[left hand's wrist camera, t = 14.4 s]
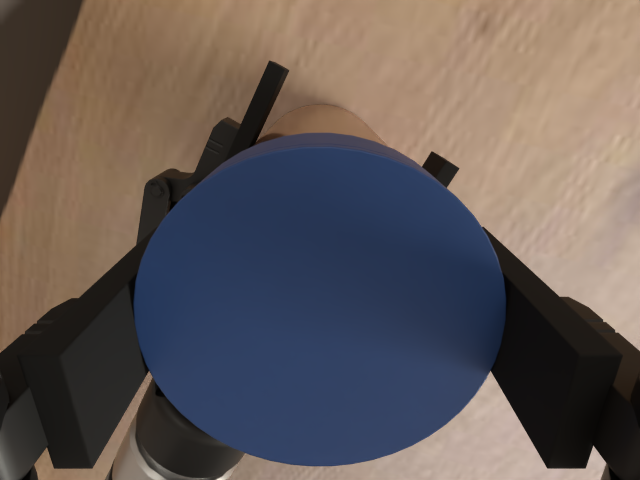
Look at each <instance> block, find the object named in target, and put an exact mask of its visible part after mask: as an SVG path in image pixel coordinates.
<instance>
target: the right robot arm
mask: <svg viewBox="0 0 640 480" xmlns="http://www.w3.org/2000/svg"><path fill="white" fill-rule="evenodd" d="M288 72H289V70H288V69H286V68H284V67H283V66H281V65H279V64H277V63H275V62H272V61H269V63H268V65H267V67H266V69H265V72H264V74H263V76H262V78H261V80H260V83H259V85H258V87H257V89H256V92H255V94H254V96H253V98H252V101H251V103H250V105H249V107H248V110H247V112H246V114H245V116H244V119H243V121H242V123H241V124H240V123H238V122H236V121H234V120H232V119H230V118H228V117H227V118H225V119H223V120H221V121H220V122H219V123H218V124H217V125H216V126H215V127H214V128H213V130H212V132H211V135H210V137H209V140H208V142H207V144H206V147H205V149H204V151H203V154H202V156H201V158H200V161H199V163H198V166H197V168H196V170H195V172H194V173H185V172H180V171H179V170H177V169H168V170H166V171H164V172H162V173H161V174H159V175H157V176H156V177H154V178H152V179H151V180H149V181H148V182H147V183H146V185H145V189H144V196H143V203H142V209H141V216H140V223H139V230H138V237H137V244H138V243H139V242H140V241H141V240H143V239H144V238H145V237H146V236H147V235H148V234H149V233H150V232H151V231H152V230H153V229H155V228H156V227H158V226H159V225H160V223H161V222H162V220H163V219H164V217H165V216H166V215H167V214H168V213H169V212H170V211H171V210H172V208H173V207H174V206H175V205H176V204H177V203H178V202H179V200H181V199H182V198H183V197H184V196H185V195H186V194H187V193H188V192H190V191H191V190H192V189H193V188H194V187H195V186H196V185H198V184H199V183H200V182H201V181H202V180H203V179H204V178H206V177H207V176H208V175H209V174H210V173H211V172H213V171H214V170H215V169H216V168H217V167H219V166H220V165H221V164H222V163H224V162H225V161H227V160H228V159H230V158H232V157H233V156H235V155H236V154H238V153H240V152H241V151H244V150H246V149H248V148H250V147H252V146H253V145H254V144H255V143H256V141H257V139H258V137H259V134H260V132H261V130H262V128H263V126H264V124H265V122H266V119H267V117H268V115H269V113H270V111H271V109H272V107H273V104H274V102H275V100H276V98H277V96H278V94H279V92H280V89H281V87H282V85H283V83H284V81H285V79H286V77H287V74H288ZM422 168H424V169H425V170H426V171H427V172H429V173H430V174H431V175H432V176H433V177H434V178H436V179H437V180H438V181H439V182H440V183H441V184H442V185H444V186H445V187H446V188H447V186H448V185H449V183H450V182H451V180H452V179H453V177H454V176H455V174H456V173H457V171H458V170H459V168H458V167H456V166H455V165H453V164H452V163H450V162H449V161H447V160H446V159H444V158H443V157H441V156H439V155H437V154H436V153H434V152H431V153H430V155H429V156H428V158H427V160H426V161H425V163H424V164H423V166H422ZM137 244H136V245H137ZM243 455H244V452H242V451H239V450H237V449H234V448H232V447H230V446H228V445H226V444H224V443H222V442H220V441H218V440H217V439H215V438H213V437H211V436H210V435H208V434H207V433H205V432H204V431H203V430H201V429H200V428H198V427H197V426H195V425H194V424H193V423H192V422H191V421H189V420H188V419H187V418H186V417H185V416H184V415H182V414H181V413H180V412H179V411H178V410H177V408H176V407H175V406H174V405H173V404H172V403H171V402H170V401H169V400H168V399H167V397H166V396H165V395H164V393H163V392H162V390H161V389H160V388H159V386H158V385H157V384H156V382H155V380H154V378H152V380H151V382H150V384H149V386H148V389H147V391H146V393H145V395H144V397H143V399H142V401H141V403H140V406H139V408H138V411H137V413H136V415H135V417H134V418H133V420H132V422H131V424H130V426H129V429H128V431H127V433H126V435H125V437H124V439H123V441H122V443H121V445H120V447H119V450H118V452H117V455H116V457H115V459H114V462H113V464H112V467H111V469H110V471H109V473H108V475H107V477H106V479H105V480H228V479H229V477H230V476H231V474H232V472H233V471H234V469H235V468H236V466H237V464H238V462H239V461H240V460H241V458H242V457H243Z"/></svg>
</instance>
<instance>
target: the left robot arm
mask: <svg viewBox="0 0 640 480" xmlns="http://www.w3.org/2000/svg"><path fill="white" fill-rule="evenodd" d="M157 228H158V227H156V228H155V229H153V230H152V231H151V232H150V233H149V234H148V235H147V236H146V237H145V238H144V239H143V240H141V241H140V242H139V243H138V244H137V245H136V246H135V247H134V248H133V249H132V250H131V251H129V252H128V253H127V254H126V255H125V256H124V257H123V258H122V259H121V260H120V261H119V262H118V263H116V264H115V265H114V266H113V267H112V268H111V269H110V270H109V271H108V272H107V273H106V274H104V275H103V276H102V277H101V278H100V279H99V280H98V281H97V282H96V283H95V284H94V285H92V286H91V287H90V288H89V289H88V290H87V291H86V292H85V293H84V294H83V295H82V296H81V297H79V298H71V299H69V300H67V301H66V302H64V303H62V304H60V305H58V306H56V307H54V308H52V309H51V310H50V311H48V312H47V313H46V314H45V315H44V316H43V317H41V318H40V319H39V320H38V321H37V324H33V325H32V326H31V327H30V328H29V329H28V330H26V331H25V334H22V335H21V336H19V337H18V338H17V339H16V340H15V341H14V342H13V343H11V344H10V345H9V346H8V347H7V348H6V349H4V350H3V351H2V352H1V353H0V480H38V477H37V472H36V469H35V466H34V464H35V462H36V461H37V460H38V458H39V457H40V456H41V454H42V453H43V451H44V450H45V449H46V447H47V448H48V452H49V455H50V458H51V461H52V464H53V467H54V469H83V468H93V466H94V465H95V463H96V461H97V460H98V458H99V456H100V454H101V453H102V451H103V449H104V447H105V446H106V444H107V442H108V441H109V439H110V437H111V435H112V434H113V432H114V430H115V429H116V427H117V425H118V423H119V422H120V420H121V418H122V416H123V415H124V413H125V411H126V410H127V408H128V406H129V404H130V403H131V401H132V399H133V397H134V396H135V394H136V392H137V391H138V389H139V387H140V385H141V384H142V382H143V380H144V379H145V377H146V375H147V373H148V372H149V369H148V367H147V365H146V363H145V361H144V358H143V355H142V352H141V350H140V347H139V342H138V337H137V332H136V327H135V322H134V306H133V301H134V291H135V281H136V278H137V274H138V270H139V266H140V262H141V259H142V257H143V255H144V252H145V250H146V248H147V246H148V243H149V241H150V239H151V237H152V236H153V234H154V233H155V231H156V229H157ZM482 228H483V230H484V231H485V233H486V234H487V236H488V238H489V240H490V242H491V244H492V246H493V248H494V251H495V253H496V255H497V257H498V261H499V264H500V267H501V271H502V274H503V278H504V285H505V293H506V321H505V326H504V331H503V336H502V341H501V346H500V349H499V352H498V355H497V357H496V360H495V363H494V365H493V367H492V369H491V372H492V374H493V376H494V377H495V379H496V381H497V382H498V384H499V386H500V388H501V389H502V391H503V393H504V394H505V396H506V398H507V400H508V401H509V403H510V405H511V407H512V408H513V410H514V412H515V413H516V415H517V417H518V419H519V420H520V422H521V424H522V425H523V427H524V429H525V431H526V432H527V434H528V436H529V438H530V439H531V441H532V443H533V444H534V446H535V448H536V450H537V451H538V453H539V455H540V457H541V458H542V460H543V462H544V463H545V465H546V467H547V468H586V466H587V463H588V460H589V457H590V454H591V451H592V448H593V445H594V447H595V448H596V450H597V451H598V452H599V454H600V455H601V456H602V458H603V459H604V460H605V462H606V466H605V469H604V472H603V475H602V478H601V480H640V351H639V350H638V349H637V348H635V347H634V346H633V345H632V344H631V343H630V342H628V341H627V340H626V339H625V338H624V337H623V336H621V335H620V334H619V333H615V330H614V329H613V328H612V327H611V326H610V325H609V324H607V323H606V322H603V319H602V318H600V317H599V316H598V315H597V314H596V313H595V312H593V311H592V310H591V309H590V308H589V307H587V306H585V305H583V304H581V303H579V302H577V301H575V300H573V299H572V298H570V297H559V296H558V295H557V294H556V293H555V292H554V291H553V290H552V289H550V288H549V287H548V286H547V285H546V284H545V283H544V282H543V281H542V280H541V279H540V278H539V277H537V276H536V275H535V274H534V273H533V272H532V271H531V270H530V269H529V268H528V267H527V266H525V265H524V264H523V263H522V262H521V261H520V260H519V259H518V258H517V257H516V256H515V255H514V254H512V253H511V252H510V251H509V250H508V249H507V248H506V247H505V246H504V245H503V244H502V243H500V242H499V241H498V240H497V239H496V238H495V237H494V236H493V235H492V234H491V233H490V232H488V231H487V230H486V229H485V228H484V227H482Z"/></svg>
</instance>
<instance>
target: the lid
mask: <svg viewBox="0 0 640 480" xmlns="http://www.w3.org/2000/svg"><path fill="white" fill-rule="evenodd" d="M133 306H134V322H135V327H136V332H137V337H138V342H139V347H140V350H141V352H142V355H143V358H144V361H145V363H146V365H147V367H148V369H149V371H150V373H151V375H152V377H153V378H154V380H155V382H156V384H157V385H158V386H159V388H160V389H161V390H162V392H163V393H164V395H165V396H166V397H167V399H168V400H169V401H170V402H171V403H172V404H173V405H174V406H175V407H176V408H177V410H178V411H179V412H180V413H181V414H182V415H184V416H185V417H186V418H187V419H188V420H189V421H191V422H192V423H193V424H194V425H195V426H197V427H198V428H200V429H201V430H203V431H204V432H205V433H207V434H208V435H210V436H211V437H213V438H215V439H217V440H218V441H220V442H222V443H224V444H226V445H228V446H230V447H232V448H234V449H237V450H239V451H242V452H244V453H247V454H249V455H252V456H256V457H259V458H263V459H266V460H270V461H275V462H280V463H286V464H291V465H303V466H338V465H347V464H355V463H360V462H365V461H370V460H374V459H377V458H381V457H384V456H387V455H390V454H393V453H396V452H398V451H400V450H403V449H405V448H408V447H410V446H412V445H414V444H416V443H418V442H419V441H421V440H423V439H425V438H427V437H429V436H430V435H432V434H433V433H434V432H436V431H437V430H439V429H440V428H442V427H443V426H444V425H446V424H447V423H448V422H449V421H450V420H452V419H453V418H454V417H455V416H456V415H457V414H458V413H459V412H461V411H462V409H463V408H464V407H465V406H466V405H467V404H468V403H469V402H470V401H471V399H472V398H473V397H474V396H475V395H476V393H477V392H478V390H479V389H480V387H481V386H482V384H483V383H484V382H485V380H486V378H487V376H488V374H489V372H490V370H491V369H492V367H493V365H494V363H495V360H496V357H497V355H498V352H499V349H500V346H501V341H502V336H503V331H504V326H505V321H506V293H505V285H504V278H503V274H502V271H501V267H500V264H499V261H498V257H497V255H496V253H495V251H494V248H493V246H492V244H491V242H490V240H489V238H488V236H487V234H486V233H485V231H484V230H483V228H482V227H481V225H480V224H479V222H478V221H477V219H476V218H475V216H474V215H473V214H472V213H471V212H470V211H469V210H468V209H467V208H466V207H465V205H464V204H463V203H462V202H461V201H460V200H459V199H458V198H457V197H456V196H455V195H454V194H453V193H451V192H450V191H449V190H448V189H447V188H446V187H445V186H444V185H442V184H441V183H440V182H439V181H438V180H437V179H436V178H434V177H433V176H432V175H431V174H430V173H429V172H427V171H426V170H425V169H424V168H422V167H421V166H420V165H419V164H417V163H416V162H415V161H413V160H412V159H410V158H408V157H407V156H405V155H403V154H401V153H400V152H398V151H396V150H394V149H392V148H390V147H387V146H385V145H382V144H380V143H378V142H375V141H372V140H368V139H364V138H360V137H357V136H353V135H345V134H337V133H302V134H295V135H288V136H282V137H279V138H276V139H272V140H269V141H265V142H262V143H259V144H257V145H255V146H253V147H250V148H248V149H246V150H244V151H241V152H240V153H238V154H236V155H235V156H233V157H232V158H230V159H228V160H227V161H225V162H224V163H222V164H221V165H220V166H219V167H217V168H216V169H215V170H214V171H213V172H211V173H210V174H209V175H208V176H207V177H206V178H204V179H203V180H202V181H201V182H200V183H199V184H198V185H196V186H195V187H194V188H193V189H192V190H191V191H190V192H188V193H187V194H186V195H185V196H184V197H183V198H182V199H181V200H179V202H178V203H177V204H176V205H175V206H174V207H173V208H172V210H171V211H170V212H169V213H168V214H167V215H166V216H165V217H164V219H163V220H162V222H161V223H160V225H159V226H158V228H157V229H156V231H155V233H154V234H153V236H152V237H151V239H150V241H149V243H148V246H147V248H146V250H145V252H144V255H143V257H142V259H141V262H140V266H139V270H138V274H137V278H136V281H135V291H134V301H133Z"/></svg>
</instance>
